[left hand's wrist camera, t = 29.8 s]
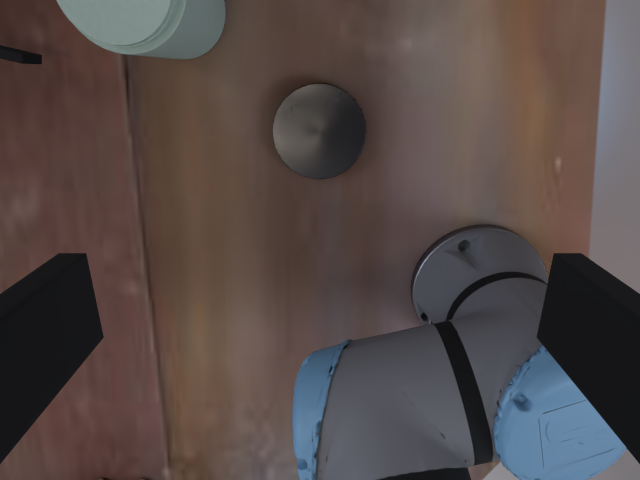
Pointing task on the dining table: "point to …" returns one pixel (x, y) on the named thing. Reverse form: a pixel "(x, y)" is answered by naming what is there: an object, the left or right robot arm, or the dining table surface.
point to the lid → (319, 131)
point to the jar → (149, 25)
